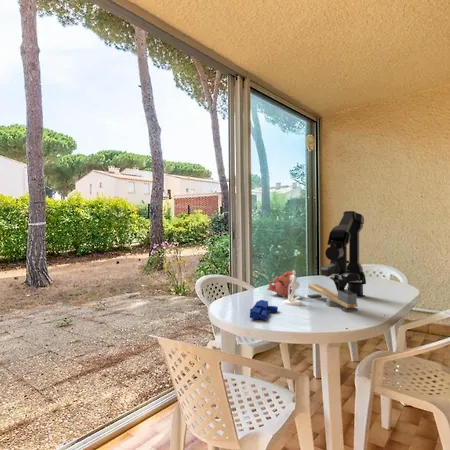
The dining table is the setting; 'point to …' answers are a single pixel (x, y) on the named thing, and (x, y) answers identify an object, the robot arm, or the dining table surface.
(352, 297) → the block
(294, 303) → the figurine
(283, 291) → the anatomical model
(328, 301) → the stand
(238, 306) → the dining table surface
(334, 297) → the beam
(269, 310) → the toy gun
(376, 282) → the dining table surface
